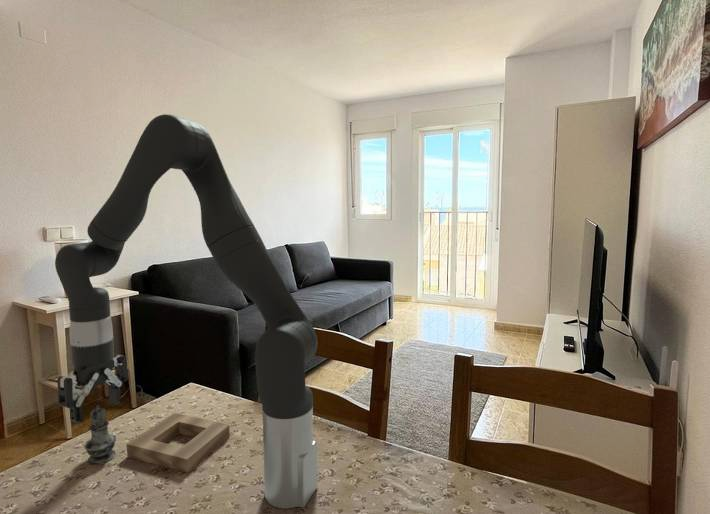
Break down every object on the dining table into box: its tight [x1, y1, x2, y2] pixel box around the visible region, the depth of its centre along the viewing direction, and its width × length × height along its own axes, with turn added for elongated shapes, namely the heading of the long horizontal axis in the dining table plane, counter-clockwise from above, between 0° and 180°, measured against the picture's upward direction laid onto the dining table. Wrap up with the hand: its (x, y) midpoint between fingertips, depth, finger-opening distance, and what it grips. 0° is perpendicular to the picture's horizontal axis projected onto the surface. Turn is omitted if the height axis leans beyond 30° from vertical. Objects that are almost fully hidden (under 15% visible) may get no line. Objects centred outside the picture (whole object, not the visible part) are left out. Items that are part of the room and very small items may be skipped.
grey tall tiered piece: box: [83, 404, 117, 466], centre depth 88 cm, size 6×6×12 cm
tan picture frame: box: [126, 412, 231, 474], centre depth 93 cm, size 16×14×3 cm
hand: (97, 412), depth 88 cm, fingers open, 8 cm apart
